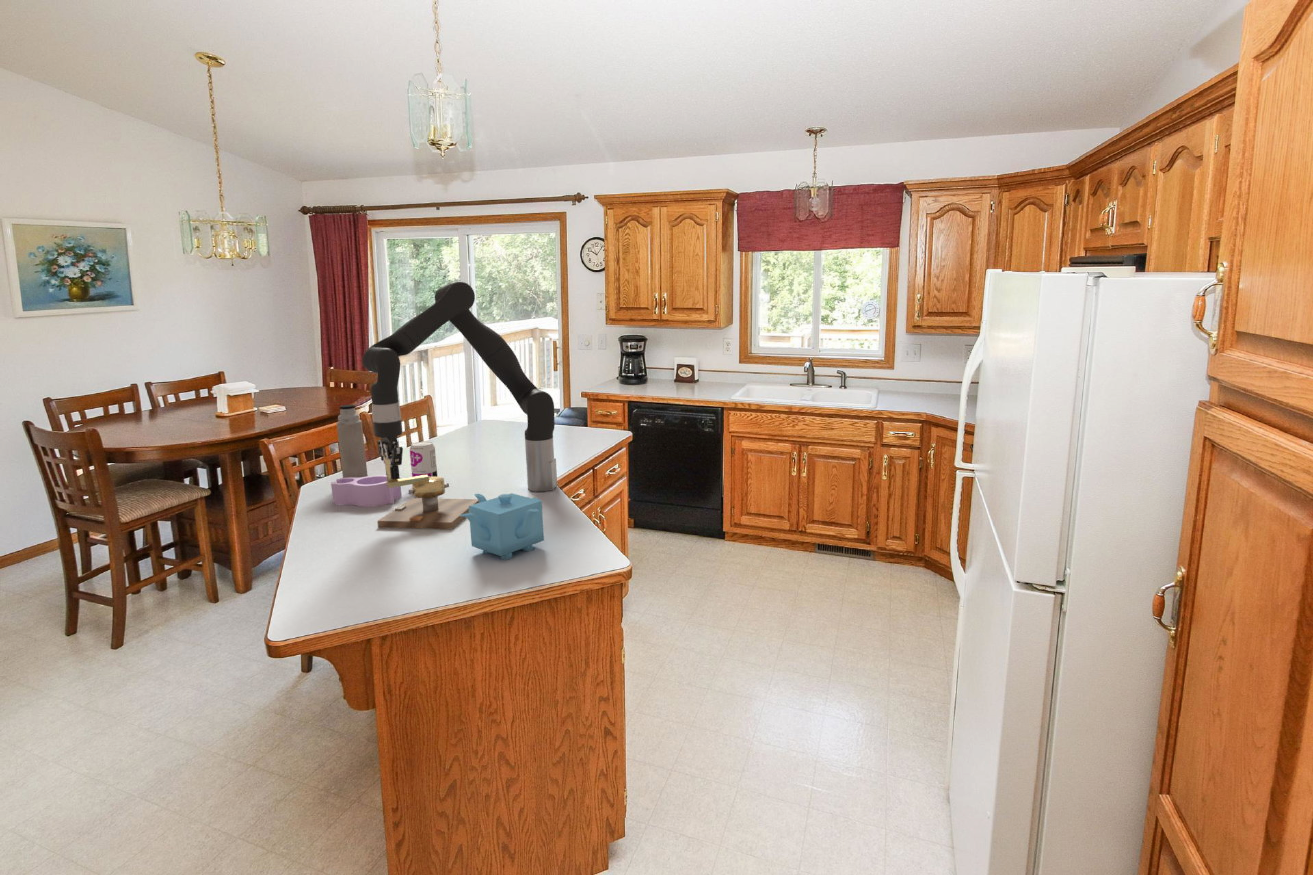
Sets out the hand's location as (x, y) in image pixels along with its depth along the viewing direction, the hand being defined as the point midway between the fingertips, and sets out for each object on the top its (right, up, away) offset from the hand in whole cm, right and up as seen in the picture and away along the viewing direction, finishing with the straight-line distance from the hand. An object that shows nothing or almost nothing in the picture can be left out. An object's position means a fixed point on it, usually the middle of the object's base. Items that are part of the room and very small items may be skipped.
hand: (392, 477), depth 205 cm
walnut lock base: (+8, -12, +8) cm, 17 cm away
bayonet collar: (+6, -6, +5) cm, 10 cm away
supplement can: (-4, -6, +40) cm, 41 cm away
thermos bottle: (-29, -5, +44) cm, 53 cm away
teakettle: (+37, -18, -21) cm, 46 cm away
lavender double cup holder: (-18, -9, +25) cm, 32 cm away
